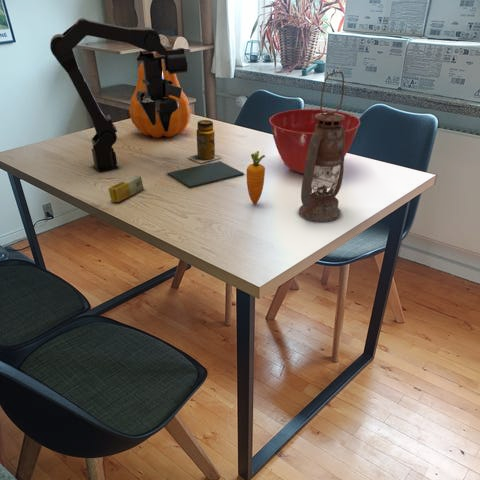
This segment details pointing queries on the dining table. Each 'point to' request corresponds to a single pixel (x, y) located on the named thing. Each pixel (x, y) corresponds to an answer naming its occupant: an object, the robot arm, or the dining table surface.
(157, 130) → the decorative pumpkin
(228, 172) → the placemat
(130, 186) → the medication box
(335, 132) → the lantern
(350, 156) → the dining table surface
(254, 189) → the carrot
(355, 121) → the mixing bowl
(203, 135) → the condiment
